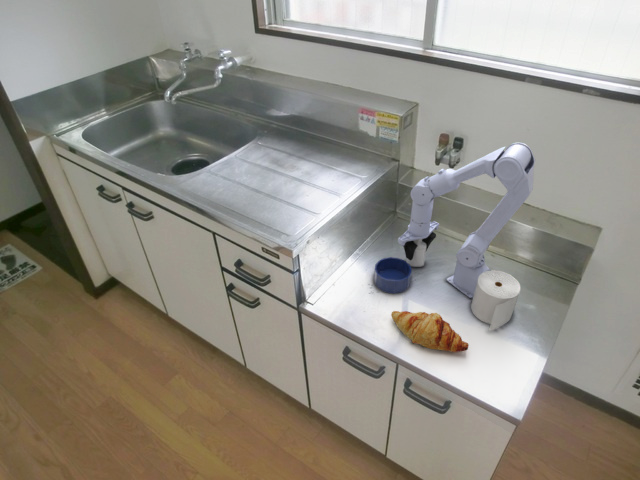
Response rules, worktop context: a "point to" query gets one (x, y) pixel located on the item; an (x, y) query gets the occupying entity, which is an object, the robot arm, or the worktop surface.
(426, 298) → the worktop surface
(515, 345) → the worktop surface
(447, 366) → the worktop surface
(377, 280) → the blue bowl
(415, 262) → the eye dropper bottle
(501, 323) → the toilet tissue
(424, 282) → the worktop surface
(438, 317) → the croissant
